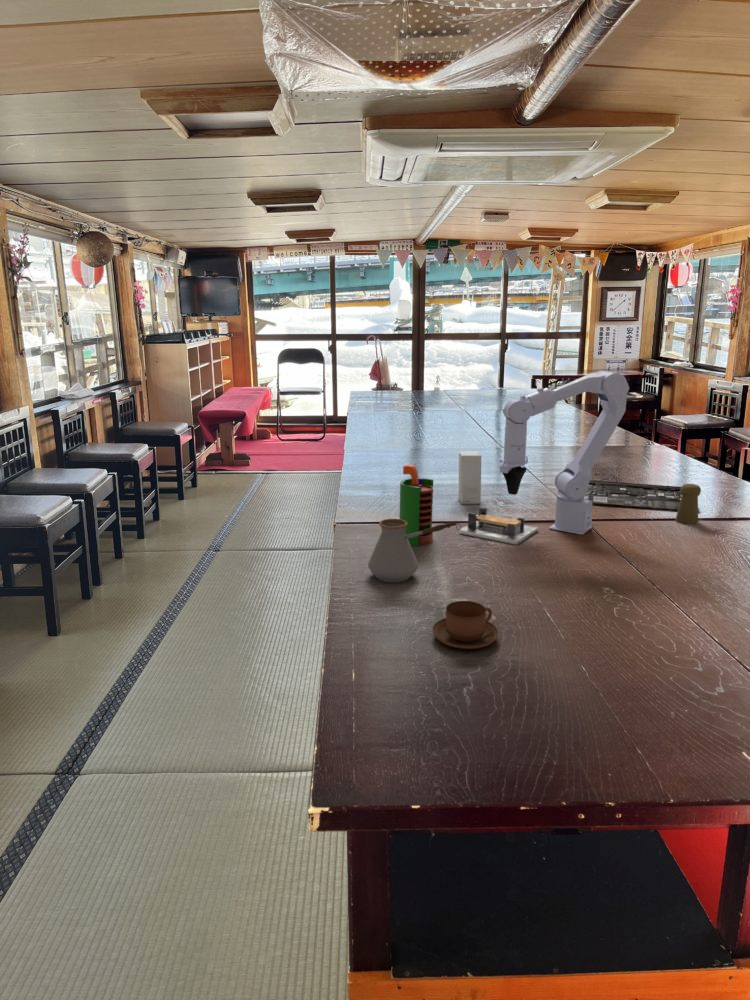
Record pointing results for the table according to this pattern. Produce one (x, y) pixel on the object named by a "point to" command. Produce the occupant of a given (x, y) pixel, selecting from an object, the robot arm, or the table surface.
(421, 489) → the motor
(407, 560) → the coffee pot
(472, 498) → the skincare box
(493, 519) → the wooden board
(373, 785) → the table surface
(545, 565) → the table surface
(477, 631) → the cup and saucer
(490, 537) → the wooden bar fixture
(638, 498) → the laptop interior
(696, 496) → the cork
